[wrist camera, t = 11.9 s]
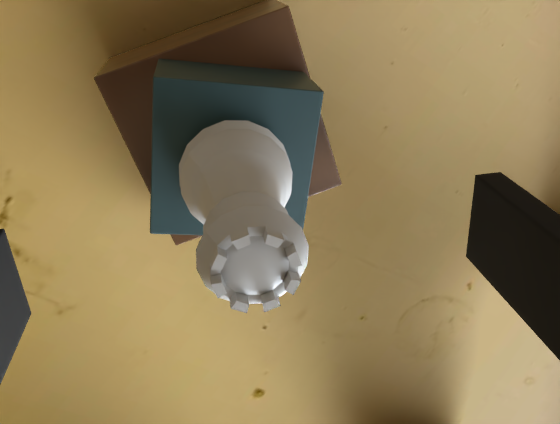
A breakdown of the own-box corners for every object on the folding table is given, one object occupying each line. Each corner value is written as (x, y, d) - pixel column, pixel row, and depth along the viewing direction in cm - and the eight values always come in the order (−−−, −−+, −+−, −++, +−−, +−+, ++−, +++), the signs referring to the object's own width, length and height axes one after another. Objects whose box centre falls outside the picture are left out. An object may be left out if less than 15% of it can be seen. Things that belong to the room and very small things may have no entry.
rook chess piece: (157, 185, 21) (140, 299, 14) (219, 93, 20) (235, 167, 13) (248, 237, 23) (274, 363, 16) (310, 155, 22) (369, 251, 15)
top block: (158, 58, 23) (152, 76, 20) (304, 71, 24) (324, 91, 21) (155, 195, 26) (150, 234, 22) (287, 201, 27) (302, 239, 24)
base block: (108, 58, 28) (92, 77, 23) (272, -3, 28) (288, 5, 23) (177, 205, 32) (175, 246, 27) (320, 152, 32) (342, 184, 27)
